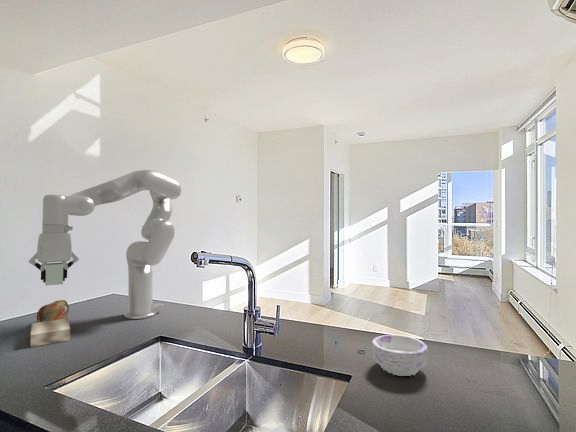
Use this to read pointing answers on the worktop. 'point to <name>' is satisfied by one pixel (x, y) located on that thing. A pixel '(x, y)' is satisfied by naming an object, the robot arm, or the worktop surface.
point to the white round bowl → (399, 354)
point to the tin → (53, 311)
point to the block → (54, 273)
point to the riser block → (50, 332)
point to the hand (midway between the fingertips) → (54, 280)
